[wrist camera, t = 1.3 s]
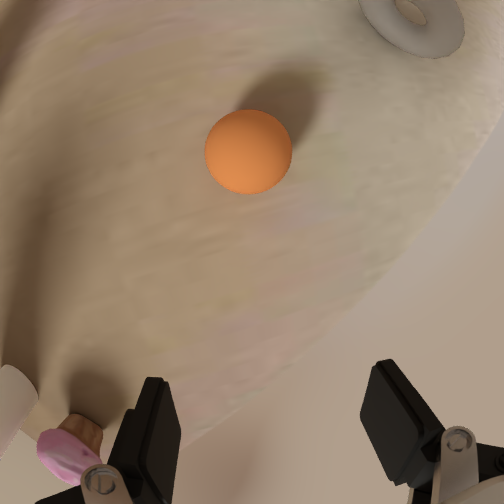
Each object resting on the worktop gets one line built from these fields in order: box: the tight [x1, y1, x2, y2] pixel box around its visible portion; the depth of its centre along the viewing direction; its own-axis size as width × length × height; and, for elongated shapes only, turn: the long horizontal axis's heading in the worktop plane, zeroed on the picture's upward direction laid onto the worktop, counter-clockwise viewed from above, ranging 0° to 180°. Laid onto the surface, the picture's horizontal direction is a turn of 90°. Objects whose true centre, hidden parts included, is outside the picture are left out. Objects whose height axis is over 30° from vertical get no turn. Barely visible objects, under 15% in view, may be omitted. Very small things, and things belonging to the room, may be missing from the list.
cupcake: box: [37, 414, 103, 486], centre depth 24 cm, size 9×9×10 cm
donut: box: [358, 0, 465, 59], centre depth 15 cm, size 10×4×10 cm, turn 51°
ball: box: [205, 109, 292, 194], centre depth 19 cm, size 6×6×6 cm
